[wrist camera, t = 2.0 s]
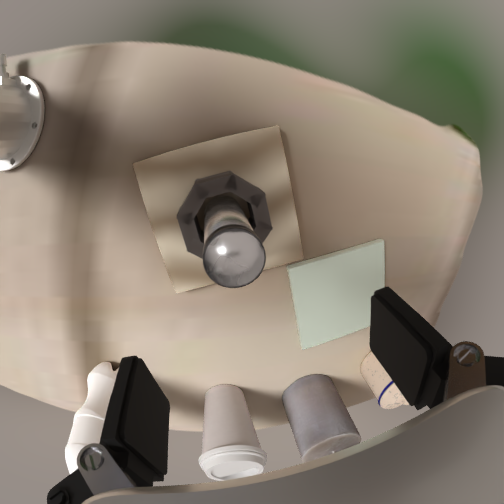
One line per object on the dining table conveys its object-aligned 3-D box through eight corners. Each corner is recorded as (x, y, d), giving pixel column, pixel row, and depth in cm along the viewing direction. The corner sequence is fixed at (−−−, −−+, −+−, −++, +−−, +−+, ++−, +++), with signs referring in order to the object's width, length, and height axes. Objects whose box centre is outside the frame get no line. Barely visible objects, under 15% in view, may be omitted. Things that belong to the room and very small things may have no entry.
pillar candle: (330, 400, 49) (359, 459, 35) (281, 413, 48) (302, 477, 34) (334, 367, 45) (371, 431, 31) (279, 380, 44) (305, 453, 30)
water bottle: (138, 368, 39) (118, 518, 16) (128, 393, 41) (110, 525, 18) (95, 350, 37) (51, 495, 14) (89, 377, 38) (55, 507, 15)
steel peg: (198, 199, 30) (194, 239, 18) (237, 189, 30) (258, 222, 18) (209, 235, 32) (212, 294, 20) (245, 225, 32) (271, 278, 20)
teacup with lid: (352, 381, 48) (378, 425, 37) (365, 344, 44) (399, 390, 34) (401, 368, 50) (429, 406, 39) (416, 334, 46) (450, 371, 36)
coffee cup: (202, 415, 45) (207, 486, 31) (189, 381, 41) (191, 462, 27) (254, 407, 46) (271, 477, 32) (249, 373, 42) (268, 452, 28)
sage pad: (286, 265, 36) (288, 269, 35) (380, 238, 37) (384, 240, 36) (300, 346, 42) (302, 350, 41) (380, 317, 42) (383, 320, 42)
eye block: (135, 162, 29) (122, 166, 24) (275, 126, 30) (289, 122, 25) (176, 287, 35) (173, 311, 30) (300, 254, 36) (315, 273, 31)
